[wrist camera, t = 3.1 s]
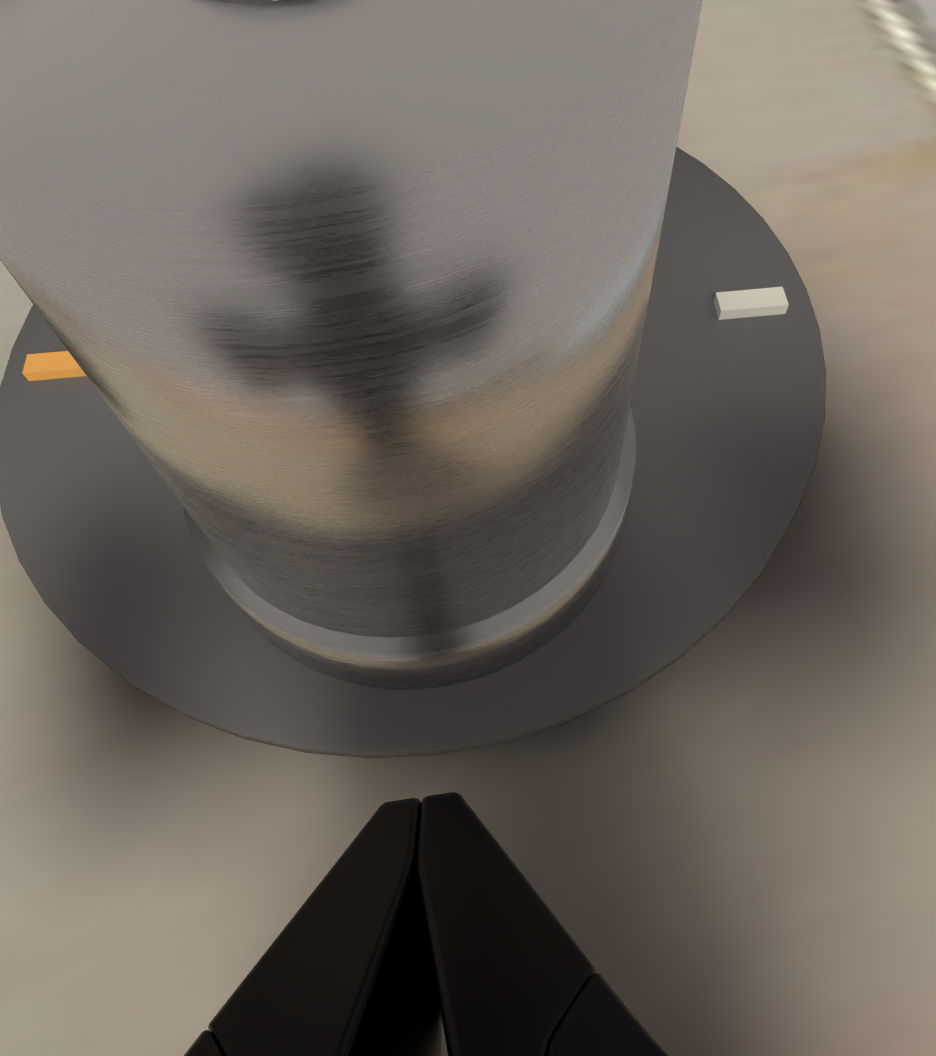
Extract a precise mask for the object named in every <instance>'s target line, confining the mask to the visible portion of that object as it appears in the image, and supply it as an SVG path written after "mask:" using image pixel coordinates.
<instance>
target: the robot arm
mask: <svg viewBox="0 0 936 1056" xmlns="http://www.w3.org/2000/svg"><path fill="white" fill-rule="evenodd" d="M442 1021H443V1027H444V1033H445V1038H446V1044H447V1050H448V1055H449V1056H669V1055H668V1054H667V1053H666V1052H665V1051H664V1050H663V1049H662V1048H661V1047H660V1045H659V1044H658V1043H657V1042H656V1041H655V1040H654V1039H653V1038H652V1037H651V1035H650V1034H649V1033H648V1032H647V1031H646V1029H645V1028H644V1027H643V1026H642V1025H641V1024H640V1022H639V1021H638V1020H637V1019H636V1018H635V1016H634V1015H633V1014H632V1013H631V1012H630V1010H629V1009H628V1008H627V1007H626V1006H625V1005H624V1003H623V1002H622V1001H621V1000H620V998H619V997H618V996H617V995H616V993H615V992H614V991H613V989H612V988H611V987H610V986H609V984H608V983H607V982H606V980H605V979H604V978H603V977H602V975H601V974H599V973H597V971H596V968H595V967H594V966H593V964H592V963H591V962H590V960H589V959H588V958H587V957H586V955H585V954H584V953H583V951H582V950H581V949H580V948H579V946H578V945H577V944H576V942H575V941H574V940H573V939H572V937H571V936H570V935H569V933H568V932H567V931H566V930H565V928H564V927H563V926H562V925H561V923H560V922H559V921H558V919H557V918H556V917H555V916H554V914H553V913H552V912H551V910H550V909H549V908H548V907H547V905H546V904H545V903H544V901H543V900H542V899H541V898H540V896H539V895H538V894H537V892H536V891H535V890H534V889H533V887H532V886H531V885H530V883H529V882H528V881H527V880H526V878H525V877H524V876H523V874H522V873H521V872H520V871H519V869H518V868H517V867H516V865H515V864H514V863H513V862H512V860H511V859H510V858H509V856H508V855H507V854H506V853H505V851H504V850H503V849H502V847H501V846H500V845H499V844H498V842H497V841H496V840H495V838H494V837H493V836H492V835H491V833H490V832H489V831H488V829H487V828H486V827H485V826H484V824H483V823H482V822H481V820H480V819H479V818H478V817H477V815H476V814H475V813H474V811H473V810H472V809H471V808H470V806H469V805H468V804H467V803H466V801H465V800H464V799H463V797H462V796H461V795H460V794H458V793H456V792H452V793H445V794H439V795H432V796H427V797H425V798H424V799H423V800H422V803H421V802H420V800H419V799H417V798H412V799H405V800H398V801H391V802H386V803H384V804H383V805H381V806H380V808H379V809H378V810H377V811H376V813H375V814H374V815H373V817H372V818H371V819H370V820H369V822H368V823H367V824H366V825H365V827H364V828H363V829H362V830H361V832H360V833H359V834H358V836H357V837H356V838H355V839H354V841H353V842H352V843H351V844H350V846H349V847H348V848H347V850H346V851H345V852H344V853H343V855H342V856H341V857H340V858H339V860H338V861H337V862H336V863H335V865H334V866H333V867H332V869H331V870H330V871H329V872H328V874H327V875H326V876H325V877H324V879H323V880H322V881H321V883H320V884H319V885H318V886H317V888H316V889H315V890H314V891H313V893H312V894H311V895H310V897H309V898H308V899H307V900H306V902H305V903H304V904H303V905H302V907H301V908H300V909H299V910H298V912H297V913H296V914H295V916H294V917H293V918H292V919H291V921H290V922H289V923H288V924H287V926H286V927H285V928H284V930H283V931H282V932H281V933H280V935H279V936H278V937H277V938H276V940H275V941H274V942H273V943H272V945H271V946H270V947H269V949H268V950H267V951H266V952H265V954H264V955H263V956H262V957H261V959H260V960H259V961H258V963H257V964H256V965H255V966H254V968H253V969H252V970H251V971H250V973H249V974H248V975H247V976H246V978H245V979H244V980H243V982H242V983H241V984H240V985H239V987H238V988H237V989H236V990H235V992H234V993H233V994H232V996H231V997H230V998H229V999H228V1001H227V1002H226V1003H225V1004H224V1006H223V1007H222V1008H221V1009H220V1011H219V1012H218V1013H217V1015H216V1016H215V1017H214V1018H213V1020H212V1021H211V1022H210V1024H209V1031H208V1030H205V1031H203V1032H202V1033H201V1034H200V1036H199V1037H198V1038H197V1039H196V1041H195V1042H194V1043H193V1045H192V1046H191V1047H190V1048H189V1050H188V1051H187V1052H186V1053H185V1055H184V1056H441V1034H442Z"/></svg>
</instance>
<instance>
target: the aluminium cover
mask: <svg viewBox="0 0 936 1056" xmlns="http://www.w3.org/2000/svg"><path fill="white" fill-rule="evenodd" d="M701 6H702V0H0V260H1V261H2V263H3V264H4V265H5V267H6V268H7V269H8V271H9V272H10V273H11V275H12V276H13V277H14V279H15V280H16V281H17V283H18V284H19V285H20V287H21V288H22V290H23V291H24V292H25V294H26V295H27V296H28V298H29V299H30V300H31V302H32V303H33V304H34V306H35V307H36V308H37V310H38V311H39V312H40V314H41V315H42V316H43V318H44V319H45V321H46V322H47V323H48V325H49V326H50V327H51V329H52V330H53V331H54V333H55V334H56V335H57V337H58V338H59V339H60V341H61V342H62V343H63V345H64V346H65V347H66V349H67V350H68V352H69V353H70V354H71V356H72V357H73V358H74V360H75V361H76V362H77V364H78V365H79V366H80V368H81V369H82V370H83V372H84V373H85V374H86V376H87V377H88V378H89V380H90V381H91V383H92V384H93V385H94V387H95V388H96V389H97V391H98V392H99V393H100V395H101V396H102V397H103V399H104V400H105V401H106V403H107V404H108V405H109V407H110V408H111V409H112V411H113V412H114V414H115V415H116V416H117V418H118V419H119V420H120V422H121V423H122V424H123V426H124V427H125V428H126V430H127V431H128V432H129V434H130V435H131V436H132V438H133V439H134V440H135V442H136V443H137V445H138V446H139V447H140V449H141V450H142V451H143V453H144V454H145V455H146V457H147V458H148V459H149V461H150V462H151V463H152V465H153V466H154V467H155V469H156V470H157V471H158V473H159V474H160V475H161V477H162V478H163V480H164V481H165V482H166V484H167V485H168V486H169V488H170V489H171V490H172V492H173V493H174V494H175V496H176V497H177V498H178V500H179V501H180V502H181V504H182V505H183V511H184V516H185V519H186V522H187V525H188V528H189V531H190V535H191V538H192V540H193V542H194V544H195V546H196V548H197V550H198V552H199V554H200V555H201V557H202V559H203V561H204V563H205V564H206V566H207V567H208V568H209V570H210V571H211V572H212V574H213V575H214V576H215V578H216V579H217V580H218V582H219V583H220V584H221V586H222V587H223V588H224V589H225V591H226V592H227V593H228V594H229V596H230V597H231V598H232V599H233V601H234V602H235V603H236V604H237V606H238V607H239V608H240V610H241V611H242V612H243V613H244V615H245V616H246V617H247V618H248V620H249V621H250V622H251V623H252V625H253V626H254V627H255V628H256V629H257V630H258V631H259V632H260V633H261V634H262V635H263V636H264V637H266V638H267V639H268V640H269V641H270V642H271V643H272V644H273V645H274V646H276V647H277V648H279V649H280V650H281V651H283V652H284V653H286V654H287V655H288V656H290V657H291V658H292V659H294V660H296V661H298V662H300V663H302V664H304V665H306V666H307V667H309V668H311V669H313V670H315V671H317V672H319V673H322V674H325V675H328V676H331V677H334V678H336V679H339V680H342V681H345V682H350V683H354V684H359V685H364V686H369V687H374V688H387V689H401V690H408V689H426V688H437V687H443V686H448V685H454V684H459V683H464V682H468V681H471V680H474V679H477V678H480V677H483V676H486V675H490V674H493V673H495V672H497V671H499V670H502V669H504V668H506V667H508V666H510V665H512V664H514V663H517V662H519V661H521V660H522V659H524V658H526V657H527V656H529V655H530V654H532V653H534V652H535V651H537V650H538V649H540V648H541V647H543V646H545V645H546V644H547V643H548V642H550V641H551V640H552V639H553V638H554V637H556V636H557V635H558V634H559V633H560V632H562V631H563V630H564V629H565V628H566V627H568V626H569V625H570V623H571V622H572V621H573V620H574V619H575V618H576V617H577V616H578V615H579V614H580V613H581V611H582V610H583V609H584V608H585V607H586V606H587V605H588V603H589V602H590V600H591V599H592V597H593V596H594V594H595V593H596V591H597V590H598V589H599V587H600V586H601V584H602V582H603V580H604V578H605V576H606V574H607V572H608V570H609V568H610V566H611V564H612V562H613V560H614V557H615V554H616V551H617V548H618V544H619V541H620V538H621V535H622V530H623V525H624V520H625V516H626V511H627V506H628V502H629V497H630V492H631V488H632V482H633V476H634V469H635V463H636V433H635V427H634V421H633V415H632V409H631V406H630V402H631V396H632V390H633V385H634V379H635V374H636V368H637V363H638V357H639V351H640V346H641V340H642V335H643V329H644V324H645V318H646V312H647V307H648V301H649V296H650V290H651V285H652V279H653V273H654V268H655V262H656V257H657V251H658V246H659V240H660V234H661V229H662V223H663V218H664V212H665V207H666V201H667V195H668V190H669V184H670V179H671V173H672V168H673V162H674V156H675V151H676V145H677V140H678V134H679V129H680V123H681V117H682V112H683V106H684V101H685V95H686V90H687V84H688V78H689V73H690V67H691V62H692V56H693V51H694V45H695V39H696V34H697V28H698V23H699V17H700V12H701Z"/></svg>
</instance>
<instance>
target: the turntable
mask: <svg viewBox="0 0 936 1056" xmlns="http://www.w3.org/2000/svg"><path fill="white" fill-rule="evenodd" d="M825 388H826V370H825V363H824V356H823V349H822V343H821V336H820V329H819V326H818V323H817V320H816V317H815V314H814V311H813V308H812V305H811V301H810V298H809V295H808V292H807V289H806V287H805V285H804V283H803V281H802V279H801V277H800V276H799V274H798V272H797V270H796V268H795V266H794V264H793V262H792V260H791V258H790V256H789V254H788V252H787V251H786V249H785V248H784V247H783V245H782V244H781V242H780V241H779V240H778V238H777V237H776V236H775V234H774V233H773V231H772V230H771V229H770V227H769V226H768V225H767V223H766V222H765V220H764V219H763V218H762V217H761V216H760V215H759V214H758V213H757V212H756V211H755V210H754V208H753V207H752V206H751V205H750V204H749V203H748V202H747V201H746V200H745V199H744V198H743V197H742V196H741V195H740V194H739V193H738V192H737V191H736V190H735V189H734V188H733V187H732V186H730V185H729V184H728V183H727V182H725V181H724V180H723V179H722V178H720V177H719V176H718V175H717V174H716V173H714V172H713V171H712V170H711V169H709V168H708V167H707V166H706V165H704V164H703V163H702V162H700V161H698V160H697V159H695V158H694V157H692V156H690V155H689V154H687V153H686V152H684V151H682V150H681V149H679V148H678V147H676V151H675V156H674V162H673V168H672V173H671V179H670V184H669V190H668V195H667V201H666V207H665V212H664V218H663V223H662V229H661V234H660V240H659V246H658V251H657V257H656V262H655V268H654V273H653V279H652V285H651V290H650V296H649V301H648V307H647V312H646V318H645V324H644V329H643V335H642V340H641V346H640V351H639V357H638V363H637V368H636V374H635V379H634V385H633V390H632V396H631V402H630V406H631V409H632V415H633V421H634V427H635V433H636V463H635V469H634V476H633V482H632V488H631V492H630V497H629V502H628V506H627V511H626V516H625V520H624V525H623V530H622V535H621V538H620V541H619V544H618V548H617V551H616V554H615V557H614V560H613V562H612V564H611V566H610V568H609V570H608V572H607V574H606V576H605V578H604V580H603V582H602V584H601V586H600V587H599V589H598V590H597V591H596V593H595V594H594V596H593V597H592V599H591V600H590V602H589V603H588V605H587V606H586V607H585V608H584V609H583V610H582V611H581V613H580V614H579V615H578V616H577V617H576V618H575V619H574V620H573V621H572V622H571V623H570V625H569V626H568V627H566V628H565V629H564V630H563V631H562V632H560V633H559V634H558V635H557V636H556V637H554V638H553V639H552V640H551V641H550V642H548V643H547V644H546V645H545V646H543V647H541V648H540V649H538V650H537V651H535V652H534V653H532V654H530V655H529V656H527V657H526V658H524V659H522V660H521V661H519V662H517V663H514V664H512V665H510V666H508V667H506V668H504V669H502V670H499V671H497V672H495V673H493V674H490V675H486V676H483V677H480V678H477V679H474V680H471V681H468V682H464V683H459V684H454V685H448V686H443V687H437V688H426V689H408V690H401V689H387V688H374V687H369V686H364V685H359V684H354V683H350V682H345V681H342V680H339V679H336V678H334V677H331V676H328V675H325V674H322V673H319V672H317V671H315V670H313V669H311V668H309V667H307V666H306V665H304V664H302V663H300V662H298V661H296V660H294V659H292V658H291V657H290V656H288V655H287V654H286V653H284V652H283V651H281V650H280V649H279V648H277V647H276V646H274V645H273V644H272V643H271V642H270V641H269V640H268V639H267V638H266V637H264V636H263V635H262V634H261V633H260V632H259V631H258V630H257V629H256V628H255V627H254V626H253V625H252V623H251V622H250V621H249V620H248V618H247V617H246V616H245V615H244V613H243V612H242V611H241V610H240V608H239V607H238V606H237V604H236V603H235V602H234V601H233V599H232V598H231V597H230V596H229V594H228V593H227V592H226V591H225V589H224V588H223V587H222V586H221V584H220V583H219V582H218V580H217V579H216V578H215V576H214V575H213V574H212V572H211V571H210V570H209V568H208V567H207V566H206V564H205V563H204V561H203V559H202V557H201V555H200V554H199V552H198V550H197V548H196V546H195V544H194V542H193V540H192V538H191V535H190V531H189V528H188V525H187V522H186V519H185V516H184V511H183V505H182V504H181V502H180V501H179V500H178V498H177V497H176V496H175V494H174V493H173V492H172V490H171V489H170V488H169V486H168V485H167V484H166V482H165V481H164V480H163V478H162V477H161V475H160V474H159V473H158V471H157V470H156V469H155V467H154V466H153V465H152V463H151V462H150V461H149V459H148V458H147V457H146V455H145V454H144V453H143V451H142V450H141V449H140V447H139V446H138V445H137V443H136V442H135V440H134V439H133V438H132V436H131V435H130V434H129V432H128V431H127V430H126V428H125V427H124V426H123V424H122V423H121V422H120V420H119V419H118V418H117V416H116V415H115V414H114V412H113V411H112V409H111V408H110V407H109V405H108V404H107V403H106V401H105V400H104V399H103V397H102V396H101V395H100V393H99V392H98V391H97V389H96V388H95V387H94V385H93V384H92V383H91V381H90V380H89V378H88V377H87V376H86V374H85V373H84V372H83V370H82V369H81V368H80V366H79V365H78V364H77V362H76V361H75V360H74V358H73V357H72V356H71V354H70V353H69V352H68V350H67V349H66V347H65V346H64V345H63V343H62V342H61V341H60V339H59V338H58V337H57V335H56V334H55V333H54V331H53V330H52V329H51V327H50V326H49V325H48V323H47V322H46V321H45V319H44V318H43V316H42V315H41V314H40V312H39V311H38V310H37V308H36V307H35V306H34V305H33V306H32V308H31V310H30V312H29V314H28V316H27V318H26V320H25V322H24V324H23V327H22V329H21V331H20V333H19V335H18V337H17V339H16V341H15V344H14V346H13V348H12V351H11V354H10V358H9V361H8V364H7V367H6V371H5V374H4V377H3V380H2V384H1V387H0V505H1V511H2V516H3V519H4V522H5V525H6V527H7V530H8V532H9V535H10V538H11V540H12V543H13V546H14V548H15V551H16V553H17V556H18V559H19V561H20V563H21V564H22V566H23V568H24V569H25V571H26V573H27V574H28V576H29V578H30V579H31V581H32V583H33V584H34V586H35V588H36V589H37V591H38V592H39V594H40V596H41V597H42V599H43V601H44V602H45V604H46V605H47V606H48V607H49V608H50V609H51V610H52V612H53V613H54V614H55V615H56V616H57V617H58V618H59V620H60V621H61V622H62V623H63V624H64V625H65V626H66V628H67V629H68V630H69V631H70V632H71V633H72V634H73V635H74V637H75V638H76V639H77V640H78V641H79V642H80V643H81V644H82V645H84V646H85V647H86V648H87V649H89V650H90V651H91V652H92V653H93V654H95V655H96V656H97V657H98V658H100V659H101V660H102V661H103V662H105V663H106V664H107V665H108V666H110V667H111V668H112V669H113V670H115V671H116V672H117V673H118V674H120V675H121V676H122V677H123V678H125V679H126V680H127V681H129V682H130V683H132V684H133V685H134V686H136V687H137V688H139V689H140V690H142V691H144V692H145V693H147V694H149V695H151V696H152V697H154V698H156V699H158V700H159V701H161V702H163V703H165V704H166V705H168V706H170V707H172V708H173V709H175V710H177V711H179V712H180V713H182V714H184V715H186V716H187V717H189V718H192V719H195V720H197V721H200V722H202V723H205V724H208V725H210V726H213V727H215V728H218V729H221V730H223V731H226V732H228V733H231V734H234V735H236V736H239V737H242V738H244V739H248V740H252V741H257V742H261V743H266V744H270V745H275V746H279V747H284V748H288V749H292V750H297V751H301V752H306V753H316V754H328V755H340V756H352V757H365V758H383V757H403V756H422V755H439V754H445V753H450V752H455V751H461V750H466V749H472V748H477V747H482V746H488V745H493V744H498V743H504V742H507V741H510V740H513V739H516V738H519V737H522V736H526V735H529V734H532V733H535V732H538V731H541V730H544V729H547V728H550V727H553V726H556V725H559V724H562V723H565V722H568V721H570V720H572V719H574V718H577V717H579V716H581V715H583V714H585V713H587V712H589V711H591V710H593V709H595V708H597V707H599V706H601V705H604V704H606V703H608V702H610V701H612V700H614V699H616V698H618V697H620V696H622V695H624V694H626V693H628V692H629V691H631V690H632V689H634V688H635V687H637V686H638V685H640V684H641V683H643V682H644V681H646V680H647V679H649V678H650V677H652V676H654V675H655V674H657V673H658V672H660V671H661V670H663V669H664V668H666V667H667V666H669V665H670V664H672V663H673V662H675V661H676V660H678V659H679V658H680V657H681V656H682V655H683V654H685V653H686V652H687V651H688V650H689V649H690V648H691V647H692V646H694V645H695V644H696V643H697V642H698V641H699V640H700V639H701V638H703V637H704V636H705V635H706V634H707V633H708V632H709V631H710V630H711V629H713V628H714V627H715V626H716V625H717V624H718V623H719V622H720V621H722V620H723V619H724V617H725V616H726V615H727V614H728V613H729V611H730V610H731V609H732V608H733V607H734V605H735V604H736V603H737V602H738V601H739V599H740V598H741V597H742V596H743V595H744V593H745V592H746V591H747V590H748V589H749V587H750V586H751V585H752V584H753V583H754V581H755V580H756V579H757V578H758V577H759V575H760V573H761V572H762V570H763V568H764V567H765V565H766V563H767V562H768V560H769V558H770V556H771V555H772V553H773V551H774V550H775V548H776V546H777V545H778V543H779V541H780V540H781V538H782V536H783V535H784V533H785V531H786V530H787V528H788V526H789V525H790V523H791V521H792V519H793V518H794V516H795V514H796V512H797V510H798V507H799V505H800V502H801V500H802V497H803V495H804V492H805V489H806V487H807V484H808V482H809V479H810V477H811V474H812V472H813V469H814V466H815V463H816V458H817V453H818V448H819V443H820V438H821V434H822V429H823V424H824V419H825Z"/></svg>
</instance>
